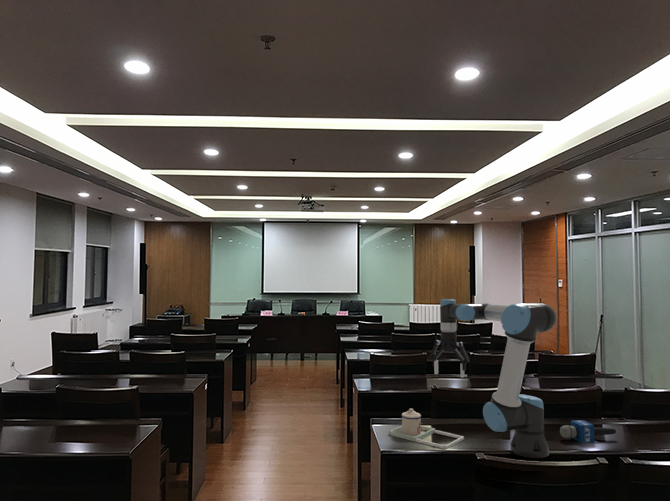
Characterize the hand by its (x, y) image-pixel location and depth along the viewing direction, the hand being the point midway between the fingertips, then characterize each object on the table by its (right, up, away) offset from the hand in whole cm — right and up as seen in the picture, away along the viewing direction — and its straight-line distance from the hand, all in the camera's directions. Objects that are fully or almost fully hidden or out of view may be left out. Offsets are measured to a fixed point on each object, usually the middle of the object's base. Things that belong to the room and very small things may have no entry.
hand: (449, 375), depth 234 cm
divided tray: (-13, -25, -11) cm, 31 cm away
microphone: (+60, -26, -14) cm, 67 cm away
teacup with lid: (-19, -26, -6) cm, 33 cm away
